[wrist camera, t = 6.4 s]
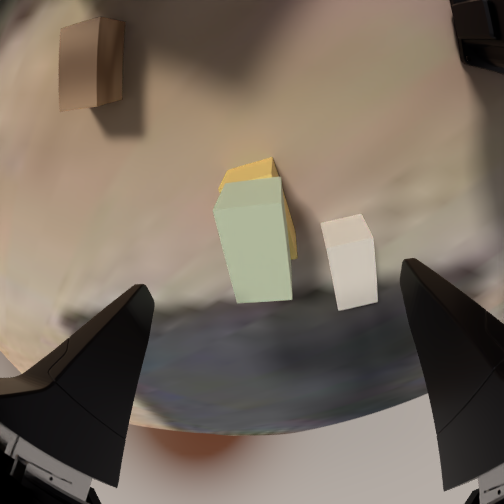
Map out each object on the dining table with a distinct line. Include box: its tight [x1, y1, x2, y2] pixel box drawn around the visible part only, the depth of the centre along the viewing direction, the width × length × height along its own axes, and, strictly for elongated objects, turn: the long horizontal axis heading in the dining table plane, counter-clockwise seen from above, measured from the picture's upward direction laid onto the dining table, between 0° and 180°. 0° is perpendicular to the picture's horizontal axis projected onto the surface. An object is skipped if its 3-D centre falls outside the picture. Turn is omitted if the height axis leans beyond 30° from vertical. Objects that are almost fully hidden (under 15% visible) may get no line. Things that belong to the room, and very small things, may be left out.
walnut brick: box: [59, 17, 125, 112], centre depth 14 cm, size 6×3×4 cm, turn 175°
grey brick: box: [320, 214, 378, 311], centre depth 21 cm, size 6×3×4 cm, turn 18°
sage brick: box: [213, 177, 292, 303], centre depth 16 cm, size 6×3×4 cm, turn 9°
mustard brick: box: [218, 157, 298, 260], centre depth 19 cm, size 6×3×4 cm, turn 18°
